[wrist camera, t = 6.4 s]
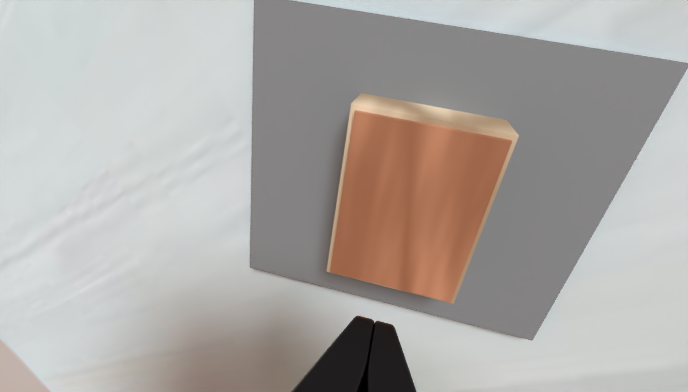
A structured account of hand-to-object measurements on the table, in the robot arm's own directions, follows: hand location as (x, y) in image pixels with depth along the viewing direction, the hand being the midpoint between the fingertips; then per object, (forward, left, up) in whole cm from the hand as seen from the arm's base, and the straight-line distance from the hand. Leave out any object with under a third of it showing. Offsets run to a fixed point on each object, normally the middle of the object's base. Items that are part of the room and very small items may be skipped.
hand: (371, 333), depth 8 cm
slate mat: (-1, +1, -10) cm, 10 cm away
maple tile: (-4, +1, -8) cm, 9 cm away
